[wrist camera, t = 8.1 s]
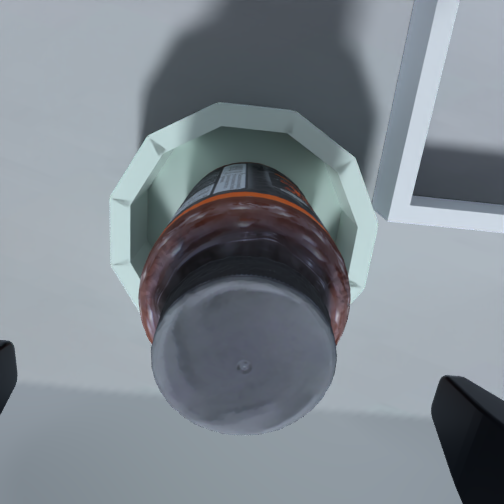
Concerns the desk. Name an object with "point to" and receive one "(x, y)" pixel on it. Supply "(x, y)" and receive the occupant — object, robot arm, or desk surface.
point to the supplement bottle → (244, 303)
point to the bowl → (233, 151)
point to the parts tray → (423, 130)
